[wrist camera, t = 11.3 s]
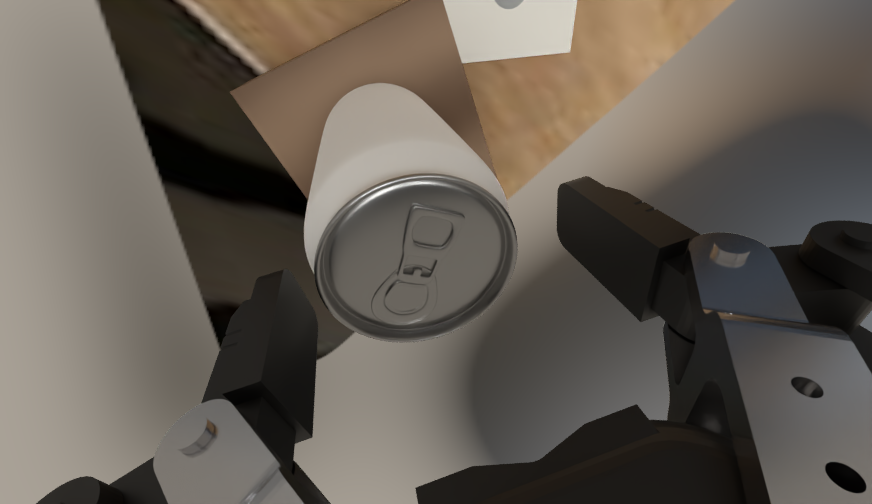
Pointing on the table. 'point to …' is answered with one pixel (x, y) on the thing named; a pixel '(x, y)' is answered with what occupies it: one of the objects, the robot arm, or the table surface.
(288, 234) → the table surface
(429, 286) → the can
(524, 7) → the page
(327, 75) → the base block
